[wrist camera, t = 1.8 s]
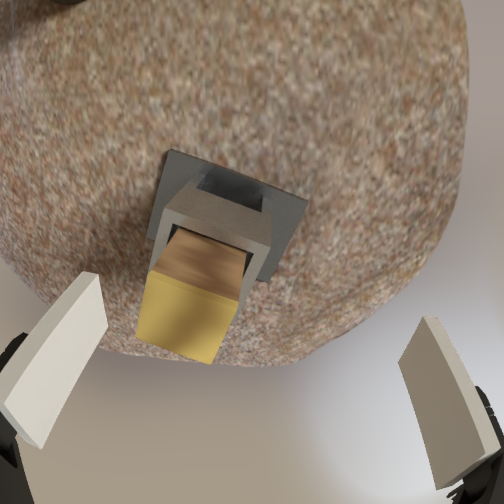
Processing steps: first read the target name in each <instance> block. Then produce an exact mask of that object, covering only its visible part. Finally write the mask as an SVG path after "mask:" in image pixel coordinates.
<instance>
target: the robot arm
mask: <svg viewBox="0 0 504 504" xmlns="http://www.w3.org/2000/svg"><path fill="white" fill-rule="evenodd" d="M51 1H53V2H56V3H59V4H64V5H70V4H75V3H79V2H81V1H84V0H51ZM107 328H108V323H107V319H106V314H105V309H104V304H103V298H102V293H101V287H100V282H99V275H98V274H94V273H89V272H84V271H83V272H82V273H81V274H80V275H79V276H78V277H77V278H76V279H75V280H74V281H73V283H72V284H71V285H70V286H69V287H68V288H67V289H66V290H65V292H64V293H63V294H62V295H61V296H60V297H59V298H58V300H57V301H56V302H55V303H54V304H53V305H52V307H51V308H50V309H49V310H48V311H47V313H46V314H45V315H44V316H43V318H42V319H41V320H40V321H39V323H38V324H37V325H36V326H35V327H34V329H33V330H32V331H31V333H30V334H26V333H24V332H23V333H22V334H20V335H19V336H17V337H16V338H14V339H13V340H12V341H11V342H10V344H9V345H8V346H7V348H6V349H5V352H3V353H2V354H1V355H0V504H34V501H33V498H32V495H31V492H30V489H29V486H28V482H27V479H26V476H25V472H24V468H23V465H22V461H21V457H20V453H19V448H18V444H17V441H16V439H15V436H16V434H17V433H18V434H19V435H20V436H21V437H22V438H23V440H24V441H26V442H27V443H29V444H31V445H33V446H35V447H37V448H39V449H42V448H43V446H44V443H45V441H46V439H47V437H48V435H49V433H50V431H51V429H52V427H53V425H54V423H55V421H56V419H57V417H58V415H59V413H60V411H61V409H62V407H63V405H64V403H65V402H66V400H67V398H68V396H69V394H70V392H71V390H72V388H73V387H74V385H75V383H76V381H77V379H78V377H79V376H80V374H81V372H82V370H83V369H84V367H85V365H86V363H87V361H88V360H89V358H90V356H91V355H92V353H93V351H94V350H95V348H96V346H97V344H98V343H99V341H100V339H101V338H102V336H103V334H104V333H105V331H106V329H107ZM398 364H399V367H400V369H401V372H402V374H403V378H404V381H405V383H406V386H407V389H408V392H409V395H410V398H411V401H412V404H413V407H414V411H415V414H416V417H417V420H418V423H419V427H420V430H421V433H422V436H423V440H424V444H425V447H426V451H427V455H428V458H429V462H430V466H431V470H432V474H433V478H434V482H435V487H436V490H439V489H443V488H446V487H449V486H452V485H454V484H455V483H457V482H458V481H459V480H461V479H463V482H464V484H462V485H460V486H459V487H458V488H456V489H455V490H453V491H452V492H450V493H449V494H448V495H447V498H449V497H451V496H453V495H454V494H456V493H457V494H456V496H454V497H453V498H452V500H453V503H452V504H504V435H503V432H502V430H501V428H500V425H499V423H498V421H497V418H496V416H494V412H493V409H492V408H490V403H489V401H488V399H487V397H486V395H485V394H484V392H483V391H482V390H481V389H480V388H479V387H478V386H474V384H473V382H472V380H471V378H470V376H469V374H468V372H467V370H466V368H465V366H464V364H463V363H462V361H461V359H460V357H459V355H458V353H457V351H456V349H455V348H454V346H453V344H452V342H451V340H450V339H449V337H448V335H447V333H446V332H445V330H444V328H443V326H442V325H441V323H440V321H439V320H438V318H437V317H430V316H423V317H422V319H421V321H420V323H419V325H418V327H417V329H416V331H415V333H414V335H413V336H412V338H411V341H410V342H409V344H408V346H407V347H406V349H405V351H404V353H403V355H402V356H401V358H400V360H399V362H398Z"/></svg>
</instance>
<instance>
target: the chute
mask: <svg viewBox="0 0 504 504" xmlns="http://www.w3.org/2000/svg"><path fill="white" fill-rule="evenodd" d="M307 204H308V201H307V200H305V199H303V198H300V197H298V196H296V195H293V194H291V193H288V192H286V191H284V190H281V189H279V188H276V187H274V186H271V185H269V184H266V183H264V182H261V181H259V180H256V179H253V178H251V177H248V176H246V175H243V174H240V173H238V172H235V171H233V170H230V169H227V168H225V167H222V166H219V165H216V164H214V163H211V162H208V161H205V160H202V159H200V158H197V157H194V156H191V155H188V154H185V153H182V152H179V151H177V150H174V149H170V150H169V153H168V156H167V159H166V163H165V166H164V169H163V173H162V176H161V180H160V183H159V187H158V191H157V194H156V198H155V202H154V206H153V210H152V213H151V217H150V221H149V226H148V230H147V234H146V238H148V239H151V240H153V241H155V244H154V248H153V252H152V257H151V261H150V265H149V270H148V274H149V273H150V271H151V270H152V268H153V266H154V265H155V263H156V262H157V260H158V259H159V257H160V256H161V254H162V252H163V251H164V249H165V248H166V246H167V245H168V243H169V242H170V240H171V239H172V237H173V236H174V234H175V233H176V231H177V230H178V228H179V227H180V226H182V227H184V228H187V229H190V230H192V231H195V232H198V233H200V234H203V235H206V236H208V237H211V238H214V239H216V240H219V241H222V242H224V243H227V244H230V245H232V246H235V247H238V248H240V249H243V250H246V251H247V253H246V259H245V265H244V271H243V278H242V284H241V290H240V296H239V303H238V309H237V311H236V313H235V315H234V317H233V319H232V321H231V324H230V325H231V326H233V325H234V323H235V321H236V319H237V317H238V315H239V313H240V311H241V309H242V307H243V305H244V303H245V301H246V298H247V296H248V294H249V292H250V290H251V288H252V286H253V284H254V282H255V280H256V279H258V280H261V281H264V282H267V283H269V281H270V279H271V277H272V275H273V273H274V271H275V269H276V267H277V265H278V263H279V261H280V259H281V257H282V255H283V253H284V251H285V249H286V247H287V245H288V243H289V241H290V239H291V237H292V235H293V233H294V231H295V229H296V227H297V224H298V222H299V220H300V218H301V216H302V214H303V212H304V210H305V208H306V206H307ZM148 274H147V277H148ZM146 281H147V279H146ZM145 286H146V283H145ZM144 290H145V288H144Z"/></svg>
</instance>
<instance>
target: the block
mask: <svg viewBox="0 0 504 504" xmlns="http://www.w3.org/2000/svg"><path fill="white" fill-rule="evenodd" d="M246 253H247V251H246V250H243V249H240V248H238V247H235V246H232V245H230V244H227V243H224V242H222V241H219V240H216V239H214V238H211V237H208V236H206V235H203V234H200V233H198V232H195V231H192V230H190V229H187V228H184V227H182V226H180V227H179V228H178V230H177V231H176V233H175V234H174V236H173V237H172V239H171V240H170V242H169V243H168V245H167V246H166V248H165V249H164V251H163V252H162V254H161V256H160V257H159V259H158V260H157V262H156V263H155V265H154V266H153V268H152V270H151V271H150V273H149V274H148V277H147V281H146V286H145V290H144V295H143V300H142V305H141V310H140V315H139V320H138V326H137V331H136V338H138V339H140V340H143V341H145V342H148V343H151V344H153V345H156V346H158V347H161V348H164V349H166V350H169V351H172V352H175V353H177V354H180V355H183V356H186V357H189V358H191V359H194V360H197V361H200V362H203V363H206V364H209V365H211V363H212V361H213V359H214V357H215V355H216V353H217V351H218V349H219V347H220V345H221V342H222V340H223V338H224V336H225V334H226V332H227V330H228V328H229V326H230V324H231V321H232V319H233V317H234V315H235V313H236V311H237V309H238V303H239V296H240V290H241V284H242V278H243V271H244V265H245V259H246Z"/></svg>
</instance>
